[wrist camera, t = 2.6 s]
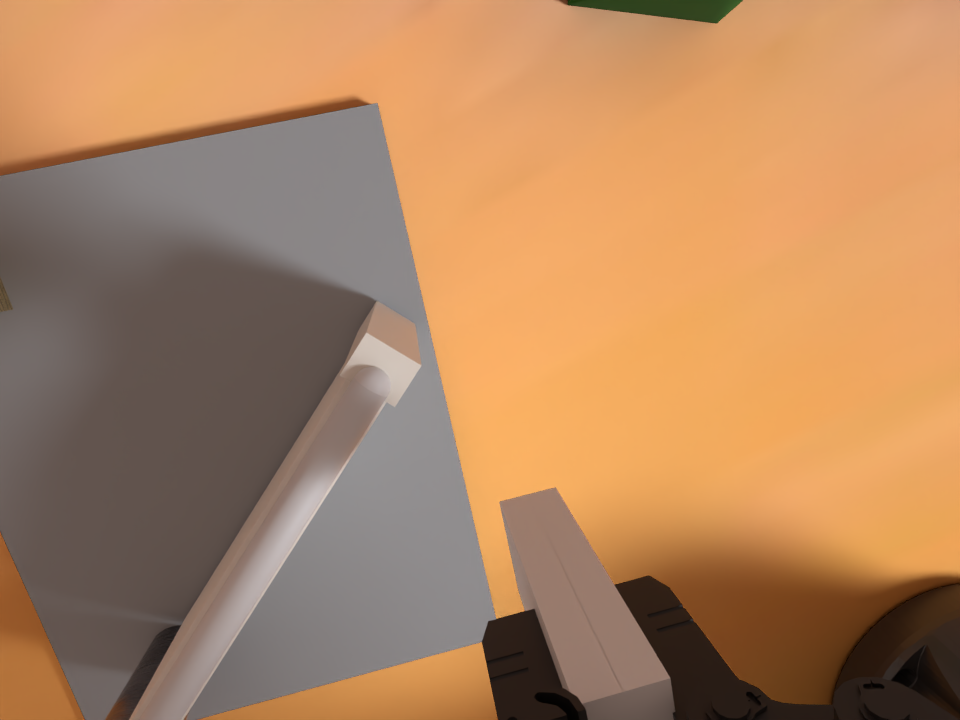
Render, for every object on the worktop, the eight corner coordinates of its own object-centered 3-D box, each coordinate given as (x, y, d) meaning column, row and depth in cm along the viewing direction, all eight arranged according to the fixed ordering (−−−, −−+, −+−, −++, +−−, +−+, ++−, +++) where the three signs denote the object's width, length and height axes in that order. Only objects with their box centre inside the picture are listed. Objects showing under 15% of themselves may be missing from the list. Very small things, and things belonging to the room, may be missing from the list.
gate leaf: (218, 634, 29) (137, 813, 20) (179, 617, 28) (79, 792, 19) (415, 323, 27) (422, 370, 18) (377, 300, 26) (365, 336, 17)
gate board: (497, 624, 32) (500, 637, 31) (106, 730, 31) (97, 746, 30) (378, 107, 26) (377, 103, 25) (-126, 205, 24) (-147, 204, 23)
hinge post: (227, 654, 31) (147, 852, 21) (168, 670, 30) (60, 877, 21) (209, 605, 30) (117, 786, 20) (149, 621, 30) (27, 811, 20)
